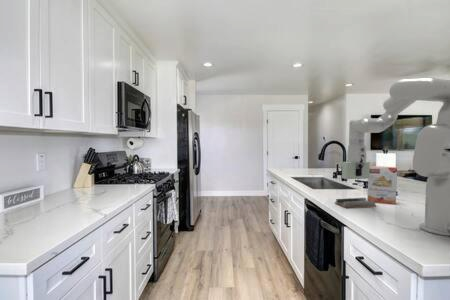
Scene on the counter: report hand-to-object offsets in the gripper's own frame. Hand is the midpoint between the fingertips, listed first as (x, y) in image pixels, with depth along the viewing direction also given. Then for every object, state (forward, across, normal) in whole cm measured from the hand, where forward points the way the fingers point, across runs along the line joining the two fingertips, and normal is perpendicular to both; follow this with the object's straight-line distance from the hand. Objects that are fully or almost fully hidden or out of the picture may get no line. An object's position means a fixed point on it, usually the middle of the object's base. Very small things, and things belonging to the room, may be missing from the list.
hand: (355, 174), depth 141 cm
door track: (+17, 0, 0) cm, 17 cm away
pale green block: (+2, 0, 0) cm, 2 cm away
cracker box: (+17, +4, -20) cm, 27 cm away
